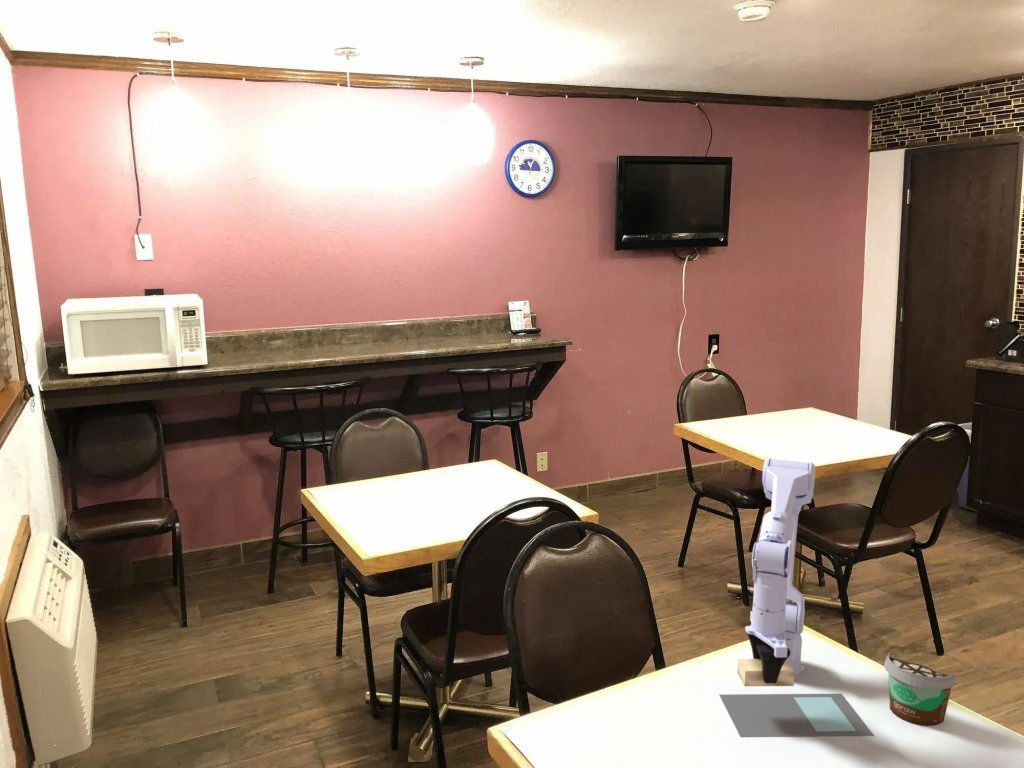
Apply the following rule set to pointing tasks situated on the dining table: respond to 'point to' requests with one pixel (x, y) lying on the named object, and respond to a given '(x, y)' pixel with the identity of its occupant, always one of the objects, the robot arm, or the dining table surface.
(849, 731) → the mat
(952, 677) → the food container
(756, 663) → the tan wooden block
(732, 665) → the dining table surface
